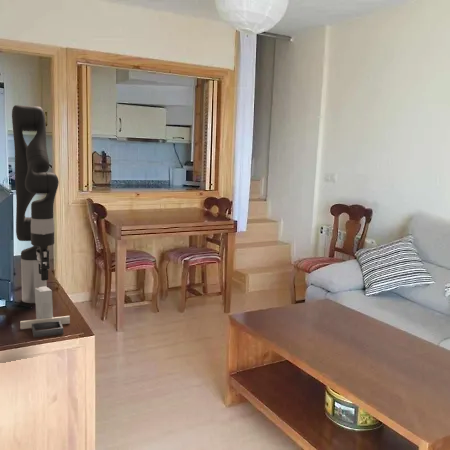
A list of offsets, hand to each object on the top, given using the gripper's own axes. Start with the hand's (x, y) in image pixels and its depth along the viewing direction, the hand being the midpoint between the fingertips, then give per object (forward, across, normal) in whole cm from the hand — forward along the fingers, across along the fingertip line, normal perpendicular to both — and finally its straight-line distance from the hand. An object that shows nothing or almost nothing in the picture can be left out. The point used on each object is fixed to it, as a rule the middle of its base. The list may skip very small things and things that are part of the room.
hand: (43, 276), depth 165 cm
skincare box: (+17, 0, 0) cm, 17 cm away
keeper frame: (+16, +9, 0) cm, 19 cm away
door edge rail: (+16, +4, 0) cm, 17 cm away
